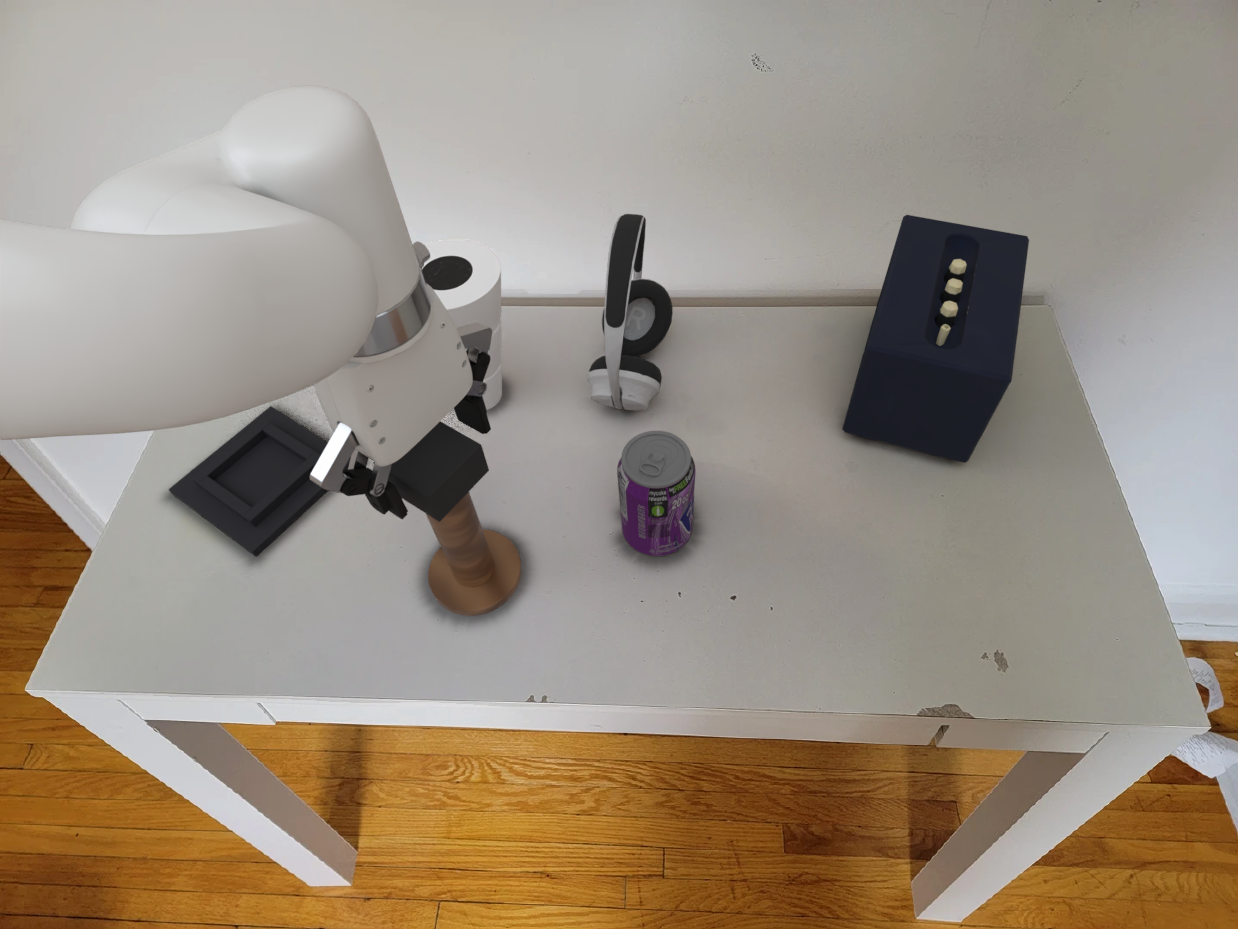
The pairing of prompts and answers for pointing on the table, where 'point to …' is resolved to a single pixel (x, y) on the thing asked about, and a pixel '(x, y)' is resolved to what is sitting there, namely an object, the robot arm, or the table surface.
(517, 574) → the stand
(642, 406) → the headphones
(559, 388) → the table surface
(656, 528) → the beverage can
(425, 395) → the robot arm
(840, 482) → the table surface
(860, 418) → the speaker
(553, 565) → the table surface
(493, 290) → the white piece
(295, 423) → the base pad
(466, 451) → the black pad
